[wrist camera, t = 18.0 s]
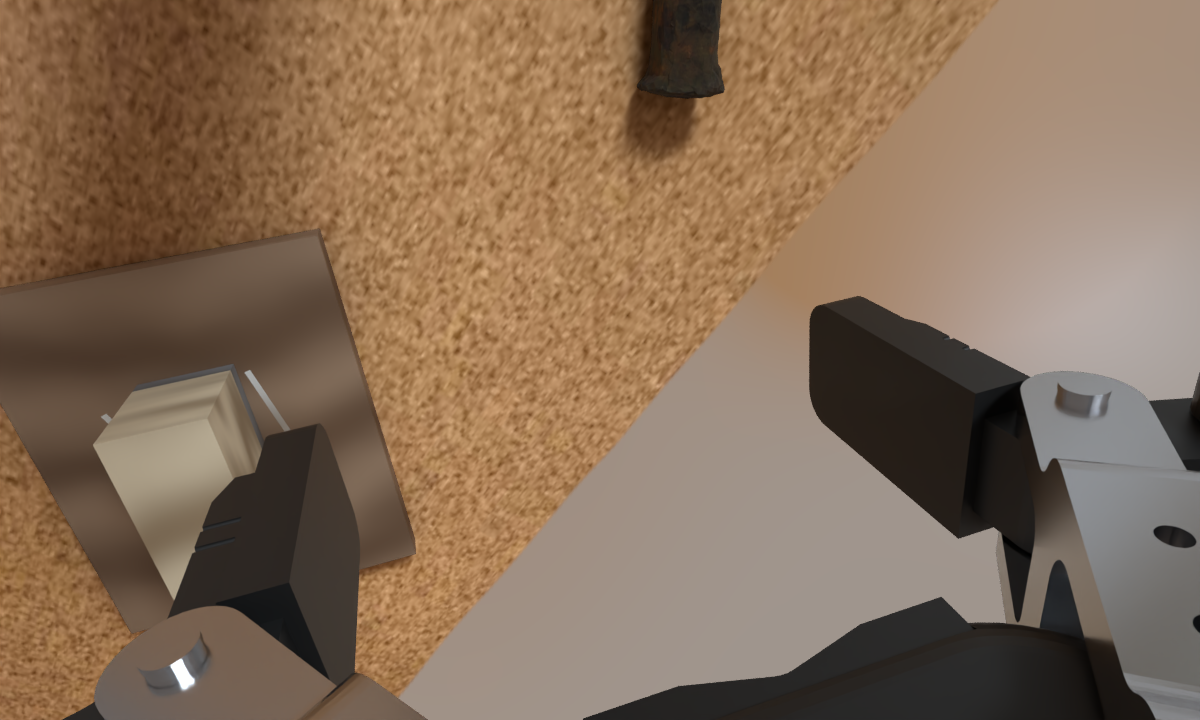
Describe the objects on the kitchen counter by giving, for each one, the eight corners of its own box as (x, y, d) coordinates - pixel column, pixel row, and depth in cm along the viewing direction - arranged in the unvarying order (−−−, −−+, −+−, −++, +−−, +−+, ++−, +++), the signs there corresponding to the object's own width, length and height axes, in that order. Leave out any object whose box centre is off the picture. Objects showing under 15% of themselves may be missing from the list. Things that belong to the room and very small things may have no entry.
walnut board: (-38, 295, 33) (-56, 306, 31) (319, 228, 36) (317, 235, 34) (139, 614, 41) (131, 633, 40) (414, 538, 44) (415, 553, 43)
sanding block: (137, 384, 35) (92, 445, 29) (233, 363, 36) (207, 418, 30) (204, 529, 39) (176, 605, 33) (290, 507, 39) (275, 577, 34)
